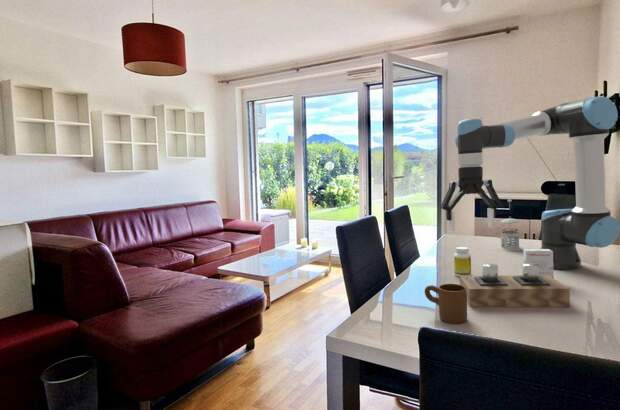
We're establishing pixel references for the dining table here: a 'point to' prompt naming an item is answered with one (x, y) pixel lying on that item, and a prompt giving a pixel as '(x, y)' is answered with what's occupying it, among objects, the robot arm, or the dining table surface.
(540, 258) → the ink box
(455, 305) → the mug
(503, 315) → the dining table surface
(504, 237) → the french press
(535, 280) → the peg
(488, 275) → the peg
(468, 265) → the pill bottle
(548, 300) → the block
